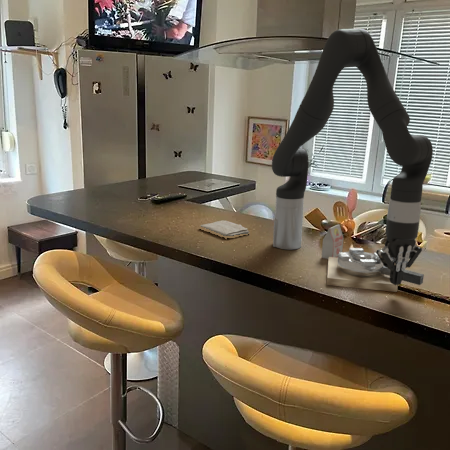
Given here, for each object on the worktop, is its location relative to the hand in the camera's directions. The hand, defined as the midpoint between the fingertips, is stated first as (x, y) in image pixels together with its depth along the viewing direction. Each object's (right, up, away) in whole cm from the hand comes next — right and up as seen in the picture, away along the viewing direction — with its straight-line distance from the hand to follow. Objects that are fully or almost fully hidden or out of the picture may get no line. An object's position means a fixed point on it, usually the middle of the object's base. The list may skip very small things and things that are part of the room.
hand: (395, 283), depth 117 cm
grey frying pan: (-1, +2, +9) cm, 10 cm away
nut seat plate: (-5, 0, +13) cm, 14 cm away
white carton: (-9, +5, +30) cm, 32 cm away
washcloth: (-44, +12, +56) cm, 72 cm away
